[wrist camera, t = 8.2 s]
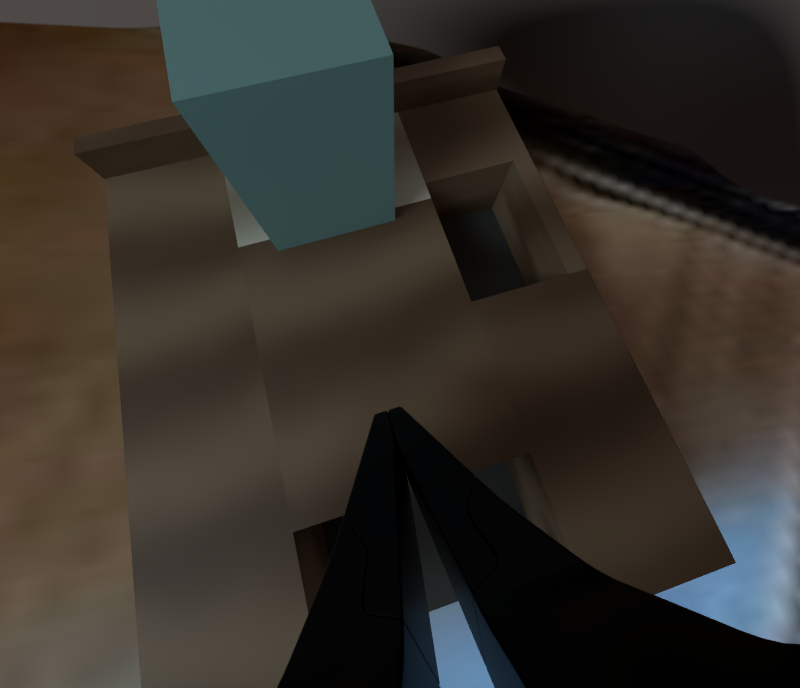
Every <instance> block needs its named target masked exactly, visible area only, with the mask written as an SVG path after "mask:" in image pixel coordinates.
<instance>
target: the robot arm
mask: <svg viewBox="0 0 800 688" xmlns="http://www.w3.org/2000/svg"><path fill="white" fill-rule="evenodd" d="M406 474H407V475H406ZM407 477H408V479H407ZM408 481H409V483H410V486H411V489H412V491H413V494H414V496H415V498H416V501H417V503H418V505H419V508H420V510H421V513H422V515H423V517H424V520H425V522H426V525H427V527H428V529H429V532H430V534H431V537H432V539H433V541H434V544H435V546H436V548H437V551H438V553H439V556H440V558H441V560H442V563H443V565H444V568H445V570H446V572H447V575H448V577H449V580H450V582H451V584H452V587H453V589H454V592H455V594H456V596H457V599H458V601H459V603H460V606H461V608H462V611H463V613H464V615H465V618H466V620H467V623H468V625H469V627H470V630H471V632H472V635H473V637H474V639H475V642H476V644H477V647H478V649H479V651H480V654H481V656H482V658H483V661H484V663H485V665H486V667H487V670H488V673H489V675H490V678H491V680H492V682H493V685H494V687H495V688H800V644H787V643H780V642H776V641H772V640H767V639H763V638H760V637H757V636H754V635H751V634H749V633H746V632H743V631H740V630H738V629H735V628H733V627H731V626H728V625H726V624H723V623H721V622H718V621H716V620H713V619H711V618H709V617H706V616H704V615H701V614H699V613H696V612H694V611H692V610H689V609H687V608H684V607H682V606H679V605H677V604H675V603H672V602H670V601H667V600H665V599H662V598H660V597H657V596H655V595H653V594H650V593H648V592H645V591H643V590H640V589H638V588H636V587H633V586H631V585H628V584H626V583H623V582H621V581H619V580H616V579H614V578H612V577H610V576H608V575H606V574H604V573H603V572H601V571H599V570H597V569H596V568H594V567H592V566H591V565H589V564H588V563H586V562H585V561H583V560H582V559H580V558H579V557H578V556H576V555H575V554H573V553H572V552H571V551H569V550H568V549H567V548H565V547H564V546H563V545H561V544H560V543H559V542H557V541H556V540H555V539H553V538H552V537H551V536H549V535H548V534H546V533H545V532H544V531H542V530H541V529H540V528H538V527H537V526H536V525H534V524H533V523H532V522H530V521H529V520H528V519H526V518H525V517H524V516H522V515H521V514H520V513H518V512H517V511H516V510H515V509H513V508H512V507H511V506H509V505H508V504H507V503H506V502H504V501H503V500H502V499H501V498H500V497H499V496H497V495H496V494H495V493H494V492H493V491H492V490H491V489H489V488H488V487H487V486H486V485H485V484H484V483H483V482H482V481H481V480H480V479H479V478H477V477H475V476H474V474H473V473H472V472H471V471H470V470H469V469H468V468H467V467H466V466H464V465H463V464H462V463H461V462H460V461H459V460H458V459H457V458H456V457H455V456H454V455H453V454H452V453H451V452H449V451H448V450H447V449H446V448H445V447H444V446H443V445H442V444H441V443H440V442H439V441H438V440H437V439H436V438H434V437H433V436H432V435H431V434H430V433H429V432H428V431H427V430H426V429H425V428H424V427H423V426H422V425H421V424H419V423H418V422H417V421H416V420H415V419H414V418H413V417H412V416H411V415H410V414H409V413H408V412H407V411H406V410H405V409H403V408H402V407H400V406H399V407H396V408H393V409H390V410H389V411H383V412H380V413H377V414H375V415H374V417H373V421H372V424H371V427H370V431H369V434H368V437H367V441H366V444H365V447H364V450H363V454H362V457H361V460H360V464H359V467H358V470H357V474H356V477H355V480H354V484H353V487H352V490H351V494H350V497H349V500H348V504H347V507H346V510H345V514H344V517H343V521H344V522H342V523H341V526H340V530H339V533H338V536H337V540H336V543H335V546H334V549H333V552H332V555H331V558H330V561H329V563H328V566H327V569H326V571H325V574H324V576H323V579H322V582H321V584H320V587H319V589H318V592H317V594H316V597H315V599H314V601H313V604H312V606H311V609H310V611H309V614H308V616H307V618H306V621H305V623H304V626H303V628H302V631H301V633H300V635H299V638H298V640H297V643H296V645H295V648H294V650H293V652H292V655H291V657H290V660H289V662H288V664H287V667H286V669H285V671H284V674H283V676H282V678H281V680H280V682H279V684H278V686H277V688H440V686H439V684H440V682H439V676H438V669H437V663H436V657H435V650H434V644H433V637H432V631H431V624H430V618H429V611H428V605H427V599H426V592H425V586H424V579H423V573H422V566H421V560H420V553H419V547H418V540H417V534H416V528H415V521H414V515H413V508H412V502H411V495H410V489H409V484H408Z"/></svg>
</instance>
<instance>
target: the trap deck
mask: <svg viewBox="0 0 800 688" xmlns="http://www.w3.org/2000/svg"><path fill="white" fill-rule="evenodd" d="M504 62H505V57H504V55H503V53H502V51H501V50H500V48H499V46H497V47H492V48H487V49H483V50H479V51H473V52H469V53H464V54H460V55H455V56H450V57H446V58H441V59H436V60H432V61H427V62H422V63H418V64H413V65H409V66H404V67H399V68H395V69H393V79H394V161H395V221H391V222H387V223H383V224H379V225H376V226H372V227H368V228H364V229H360V230H356V231H353V232H349V233H345V234H341V235H337V236H333V237H330V238H326V239H322V240H318V241H314V242H310V243H307V244H303V245H299V246H295V247H291V248H287V249H284V250H280V251H278V250H277V249H276V247H275V246H274V244H273V243H272V242H271V240H270V239H269V237H268V236H267V235H266V233H265V232H264V230H263V229H262V228H261V226H260V225H259V223H258V222H257V221H256V219H255V218H254V216H253V215H252V214H251V212H250V211H249V209H248V208H247V207H246V205H245V204H244V202H243V201H242V200H241V198H240V197H239V195H238V194H237V193H236V191H235V190H234V188H233V187H232V185H231V184H230V183H229V181H228V180H227V178H226V177H225V176H224V174H223V173H222V171H221V170H220V169H219V167H218V166H217V164H216V163H215V162H214V160H213V159H212V157H211V156H210V155H209V153H208V152H207V150H206V149H205V148H204V146H203V145H202V143H201V142H200V141H199V139H198V138H197V136H196V135H195V134H194V132H193V131H192V129H191V128H190V127H189V125H188V124H187V122H186V121H185V120H184V118H183V117H182V115H177V116H172V117H168V118H163V119H158V120H154V121H149V122H144V123H140V124H135V125H131V126H126V127H121V128H117V129H112V130H107V131H103V132H98V133H93V134H89V135H84V136H80V137H75V138H74V154H75V155H76V156H77V157H78V158H80V159H81V160H82V161H83V162H85V163H86V164H87V165H88V166H89V167H91V168H92V169H93V170H94V171H96V172H97V173H98V174H99V175H100V176H102V177H103V178H104V179H105V190H106V203H107V217H108V231H109V245H110V259H111V273H112V287H113V300H114V314H115V328H116V342H117V356H118V370H119V384H120V397H121V411H122V425H123V439H124V453H125V467H126V480H127V494H128V508H129V522H130V536H131V550H132V564H133V577H134V591H135V605H136V619H137V633H138V647H139V661H140V674H141V688H277V686H278V684H279V682H280V680H281V678H282V676H283V674H284V671H285V669H286V667H287V664H288V662H289V660H290V657H291V655H292V652H293V650H294V648H295V645H296V643H297V640H298V638H299V635H300V633H301V631H302V628H303V626H304V623H305V621H306V618H307V616H308V614H309V611H310V609H311V606H312V604H313V601H314V599H315V597H316V594H317V592H318V589H319V587H320V584H321V582H322V579H323V576H324V574H325V571H326V569H327V566H328V563H329V561H330V558H331V555H332V552H333V549H334V546H335V543H336V540H337V536H338V533H339V530H340V526H341V523H342V522H344V521H343V517H344V514H345V510H346V507H347V504H348V500H349V497H350V494H351V490H352V487H353V484H354V480H355V477H356V474H357V470H358V467H359V464H360V460H361V457H362V454H363V450H364V447H365V444H366V441H367V437H368V434H369V431H370V427H371V424H372V421H373V417H374V415H375V414H377V413H380V412H383V411H389V410H390V409H393V408H396V407H399V406H400V407H402V408H403V409H405V410H406V411H407V412H408V413H409V414H410V415H411V416H412V417H413V418H414V419H415V420H416V421H417V422H418V423H419V424H421V425H422V426H423V427H424V428H425V429H426V430H427V431H428V432H429V433H430V434H431V435H432V436H433V437H434V438H436V439H437V440H438V441H439V442H440V443H441V444H442V445H443V446H444V447H445V448H446V449H447V450H448V451H449V452H451V453H452V454H453V455H454V456H455V457H456V458H457V459H458V460H459V461H460V462H461V463H462V464H463V465H464V466H466V467H467V468H468V469H469V470H470V471H471V472H472V473H473V474H474V476H475V477H477V478H479V479H480V480H481V481H482V482H483V483H484V484H485V485H486V486H487V487H488V488H489V489H491V490H492V491H493V492H494V493H495V494H496V495H497V496H499V497H500V498H501V499H502V500H503V501H504V502H506V503H507V504H508V505H509V506H511V507H512V508H513V509H515V510H516V511H517V512H518V513H520V514H521V515H522V516H524V517H525V518H526V519H528V520H529V521H530V522H532V523H533V524H534V525H536V526H537V527H538V528H540V529H541V530H542V531H544V532H545V533H546V534H548V535H549V536H551V537H552V538H553V539H555V540H556V541H557V542H559V543H560V544H561V545H563V546H564V547H565V548H567V549H568V550H569V551H571V552H572V553H573V554H575V555H576V556H578V557H579V558H580V559H582V560H583V561H585V562H586V563H588V564H589V565H591V566H592V567H594V568H596V569H597V570H599V571H601V572H603V573H604V574H606V575H608V576H610V577H612V578H614V579H616V580H619V581H621V582H623V583H626V584H628V585H631V586H633V587H636V588H638V589H640V590H643V591H645V592H648V593H650V594H653V595H655V594H657V593H660V592H662V591H665V590H667V589H670V588H673V587H675V586H678V585H680V584H683V583H685V582H688V581H690V580H693V579H696V578H698V577H701V576H703V575H706V574H708V573H711V572H713V571H716V570H719V569H721V568H724V567H726V566H729V565H731V564H734V563H736V562H735V560H734V558H733V556H732V554H731V552H730V550H729V548H728V546H727V544H726V542H725V540H724V538H723V536H722V534H721V532H720V530H719V528H718V526H717V524H716V522H715V520H714V518H713V516H712V514H711V513H710V511H709V509H708V507H707V505H706V503H705V501H704V499H703V497H702V495H701V493H700V491H699V489H698V487H697V485H696V483H695V481H694V479H693V477H692V475H691V473H690V471H689V469H688V467H687V465H686V463H685V461H684V459H683V457H682V455H681V453H680V451H679V449H678V447H677V445H676V443H675V441H674V439H673V437H672V435H671V434H670V432H669V430H668V428H667V426H666V424H665V422H664V420H663V418H662V416H661V414H660V412H659V410H658V408H657V406H656V404H655V402H654V400H653V398H652V396H651V394H650V392H649V390H648V388H647V386H646V384H645V382H644V380H643V378H642V376H641V374H640V372H639V370H638V368H637V366H636V364H635V362H634V360H633V358H632V356H631V354H630V353H629V351H628V349H627V347H626V345H625V343H624V341H623V339H622V337H621V335H620V333H619V331H618V329H617V327H616V325H615V323H614V321H613V319H612V317H611V315H610V313H609V311H608V309H607V307H606V305H605V303H604V301H603V299H602V297H601V295H600V293H599V291H598V289H597V287H596V285H595V283H594V281H593V279H592V277H591V275H590V274H589V272H588V270H587V268H586V266H585V264H584V262H583V260H582V258H581V256H580V254H579V252H578V250H577V248H576V246H575V244H574V242H573V240H572V238H571V236H570V234H569V232H568V230H567V228H566V226H565V224H564V222H563V220H562V218H561V216H560V214H559V212H558V210H557V208H556V206H555V204H554V202H553V200H552V198H551V196H550V194H549V193H548V191H547V189H546V187H545V185H544V183H543V181H542V179H541V177H540V175H539V173H538V171H537V169H536V167H535V165H534V163H533V161H532V159H531V157H530V155H529V153H528V151H527V149H526V147H525V145H524V143H523V141H522V139H521V137H520V135H519V133H518V131H517V129H516V127H515V125H514V123H513V121H512V119H511V117H510V115H509V114H508V112H507V110H506V108H505V106H504V104H503V102H502V100H501V98H500V96H499V94H498V92H497V90H496V89H497V86H498V83H499V79H500V76H501V73H502V69H503V66H504ZM406 475H407V474H406ZM407 479H408V477H407ZM408 484H409V489H410V495H411V502H412V508H413V515H414V521H415V528H416V534H417V540H418V547H419V553H420V560H421V566H422V573H423V579H424V586H425V592H426V599H427V605H428V611H429V612H430V611H432V610H435V609H438V608H440V607H443V606H446V605H448V604H451V603H454V602H456V601H458V599H457V596H456V594H455V592H454V589H453V587H452V584H451V582H450V580H449V577H448V575H447V572H446V570H445V568H444V565H443V563H442V560H441V558H440V556H439V553H438V551H437V548H436V546H435V544H434V541H433V539H432V537H431V534H430V532H429V529H428V527H427V525H426V522H425V520H424V517H423V515H422V513H421V510H420V508H419V505H418V503H417V501H416V498H415V496H414V494H413V491H412V489H411V486H410V483H409V481H408Z"/></svg>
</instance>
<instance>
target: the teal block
mask: <svg viewBox="0 0 800 688" xmlns="http://www.w3.org/2000/svg"><path fill="white" fill-rule="evenodd" d="M156 1H157V7H158V14H159V20H160V27H161V34H162V40H163V47H164V53H165V60H166V66H167V72H168V79H169V85H170V92H171V98H172V103H173V104H174V105H175V107H176V108H177V110H178V111H179V113H180V114H181V115H182V117H183V118H184V120H185V121H186V122H187V124H188V125H189V127H190V128H191V129H192V131H193V132H194V134H195V135H196V136H197V138H198V139H199V141H200V142H201V143H202V145H203V146H204V148H205V149H206V150H207V152H208V153H209V155H210V156H211V157H212V159H213V160H214V162H215V163H216V164H217V166H218V167H219V169H220V170H221V171H222V173H223V174H224V176H225V177H226V178H227V180H228V181H229V183H230V184H231V185H232V187H233V188H234V190H235V191H236V193H237V194H238V195H239V197H240V198H241V200H242V201H243V202H244V204H245V205H246V207H247V208H248V209H249V211H250V212H251V214H252V215H253V216H254V218H255V219H256V221H257V222H258V223H259V225H260V226H261V228H262V229H263V230H264V232H265V233H266V235H267V236H268V237H269V239H270V240H271V242H272V243H273V244H274V246H275V247H276V249H277V250H278V251H280V250H284V249H287V248H291V247H295V246H299V245H303V244H307V243H310V242H314V241H318V240H322V239H326V238H330V237H333V236H337V235H341V234H345V233H349V232H353V231H356V230H360V229H364V228H368V227H372V226H376V225H379V224H383V223H387V222H391V221H395V161H394V79H393V53H392V51H391V48H390V46H389V43H388V41H387V39H386V36H385V34H384V31H383V29H382V26H381V24H380V22H379V19H378V17H377V14H376V12H375V9H374V7H373V5H372V3H371V0H156Z"/></svg>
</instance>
